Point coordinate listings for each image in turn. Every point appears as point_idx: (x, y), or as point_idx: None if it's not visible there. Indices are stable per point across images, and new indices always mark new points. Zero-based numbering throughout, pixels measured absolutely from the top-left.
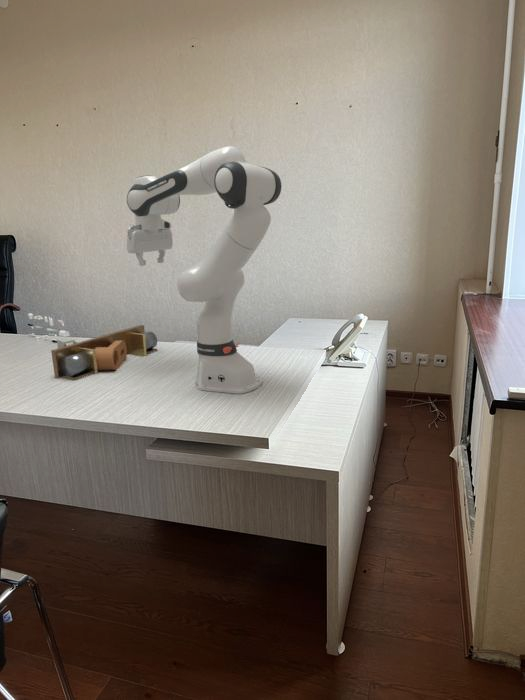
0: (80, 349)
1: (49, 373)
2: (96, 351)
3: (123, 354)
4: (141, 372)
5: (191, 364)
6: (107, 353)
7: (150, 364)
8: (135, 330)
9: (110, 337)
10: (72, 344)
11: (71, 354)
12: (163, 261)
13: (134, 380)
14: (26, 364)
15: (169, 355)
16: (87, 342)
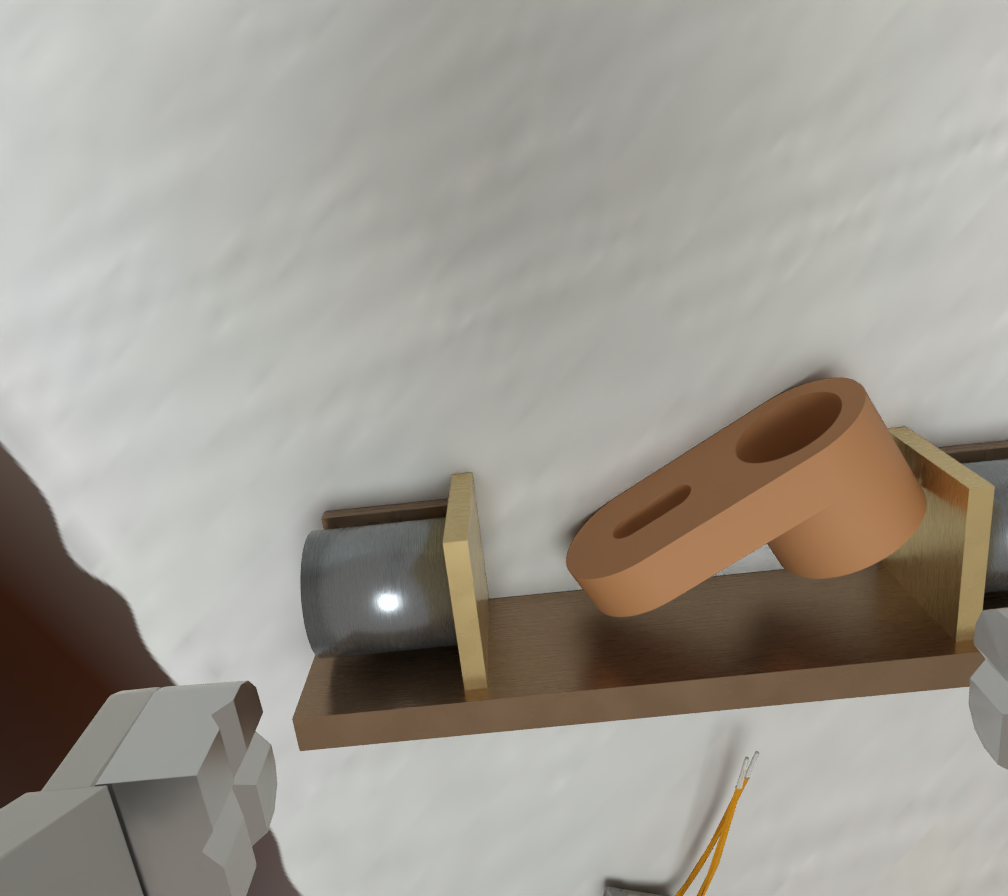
0: (978, 596)
1: None
2: (908, 516)
3: (632, 513)
4: (736, 213)
5: (412, 36)
6: (879, 440)
7: (572, 306)
8: (394, 695)
9: (654, 672)
10: None
11: None
12: (123, 697)
13: (891, 110)
14: (912, 882)
15: (345, 361)
16: (878, 658)
